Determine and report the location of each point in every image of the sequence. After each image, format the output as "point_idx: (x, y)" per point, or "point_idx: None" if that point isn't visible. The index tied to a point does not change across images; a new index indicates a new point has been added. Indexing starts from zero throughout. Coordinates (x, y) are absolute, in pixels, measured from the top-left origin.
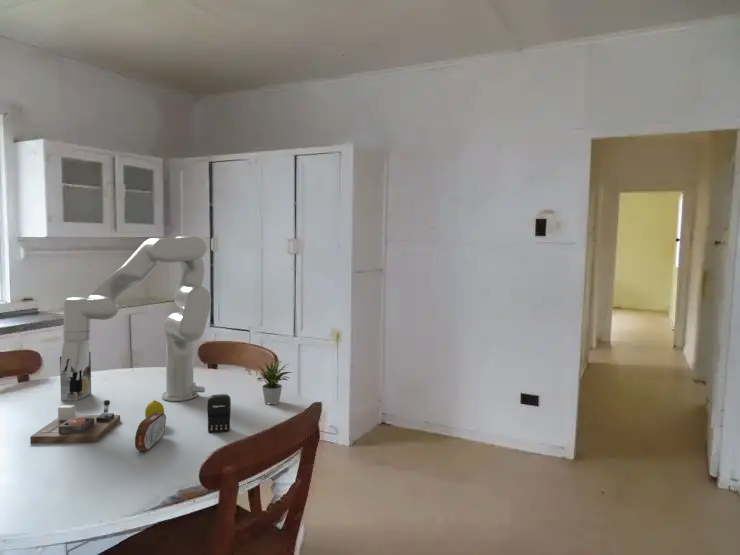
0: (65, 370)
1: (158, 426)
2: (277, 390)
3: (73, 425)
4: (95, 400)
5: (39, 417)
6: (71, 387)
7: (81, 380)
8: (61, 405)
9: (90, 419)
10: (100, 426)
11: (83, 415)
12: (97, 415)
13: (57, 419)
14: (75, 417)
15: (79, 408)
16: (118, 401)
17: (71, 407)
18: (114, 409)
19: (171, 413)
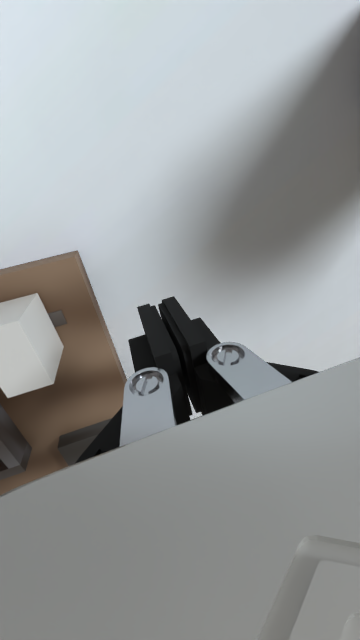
0: (104, 469)
1: None
2: None
3: None
4: (354, 201)
5: (91, 71)
6: (130, 349)
7: (201, 411)
8: (11, 323)
9: (2, 473)
10: (23, 475)
11: (106, 350)
12: (122, 394)
13: (12, 284)
14: (71, 339)
15: (252, 204)
16: (331, 299)
17: (8, 396)
18: (248, 343)
19: None
